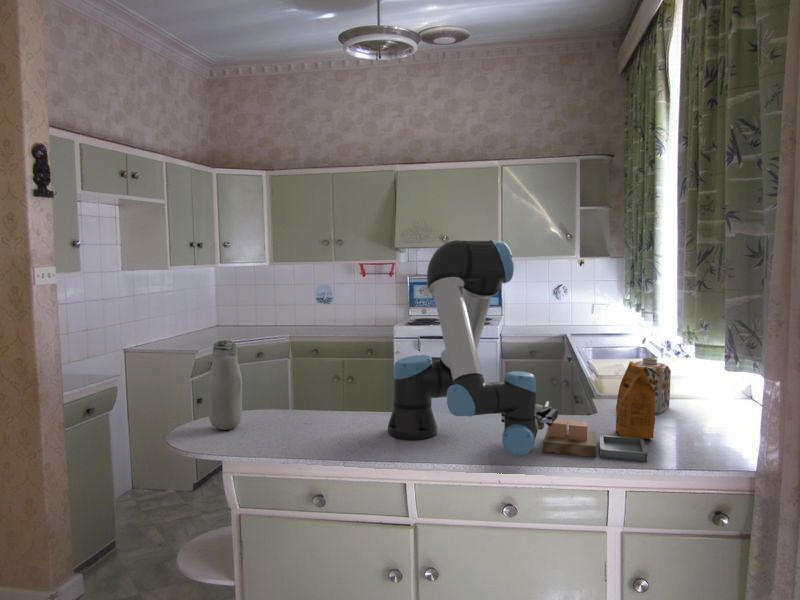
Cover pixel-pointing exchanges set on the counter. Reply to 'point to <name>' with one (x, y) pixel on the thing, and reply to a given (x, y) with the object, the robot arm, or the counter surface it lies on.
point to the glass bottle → (225, 387)
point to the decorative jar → (658, 382)
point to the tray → (623, 448)
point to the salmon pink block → (558, 428)
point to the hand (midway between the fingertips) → (532, 404)
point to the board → (571, 445)
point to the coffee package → (635, 404)
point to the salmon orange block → (578, 430)
